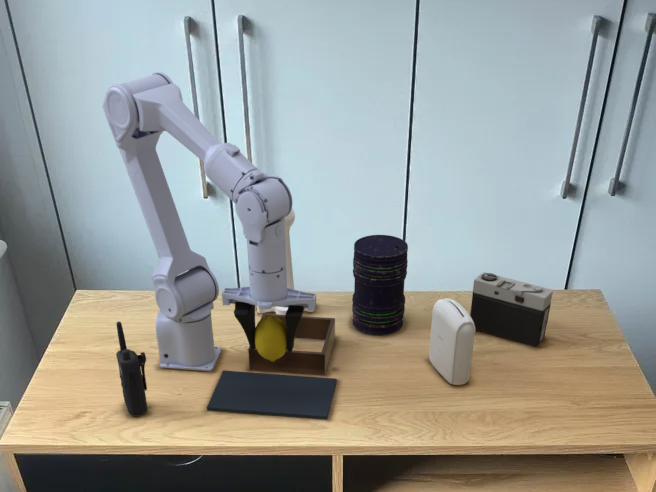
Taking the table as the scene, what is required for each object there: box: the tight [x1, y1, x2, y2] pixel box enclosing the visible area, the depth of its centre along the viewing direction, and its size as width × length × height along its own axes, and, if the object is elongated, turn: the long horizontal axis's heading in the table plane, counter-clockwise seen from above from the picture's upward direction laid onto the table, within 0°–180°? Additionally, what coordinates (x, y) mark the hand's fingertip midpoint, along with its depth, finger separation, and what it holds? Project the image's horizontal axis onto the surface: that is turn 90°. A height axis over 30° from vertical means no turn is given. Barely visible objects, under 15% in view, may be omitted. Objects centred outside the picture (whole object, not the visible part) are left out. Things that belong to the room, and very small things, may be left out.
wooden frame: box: [247, 313, 336, 376], centre depth 153 cm, size 13×13×4 cm
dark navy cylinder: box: [351, 234, 409, 337], centre depth 158 cm, size 10×10×15 cm
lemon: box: [254, 315, 287, 362], centre depth 138 cm, size 6×6×8 cm
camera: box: [469, 271, 554, 348], centre depth 158 cm, size 14×8×10 cm, turn 58°
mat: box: [206, 370, 338, 420], centre depth 144 cm, size 20×12×1 cm, turn 83°
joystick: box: [256, 208, 316, 315], centre depth 159 cm, size 11×8×20 cm
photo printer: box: [428, 297, 476, 386], centre depth 146 cm, size 10×4×12 cm, turn 20°
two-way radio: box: [115, 321, 148, 417], centre depth 136 cm, size 6×4×15 cm
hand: (271, 347), depth 139 cm, fingers closed on lemon, 5 cm apart
